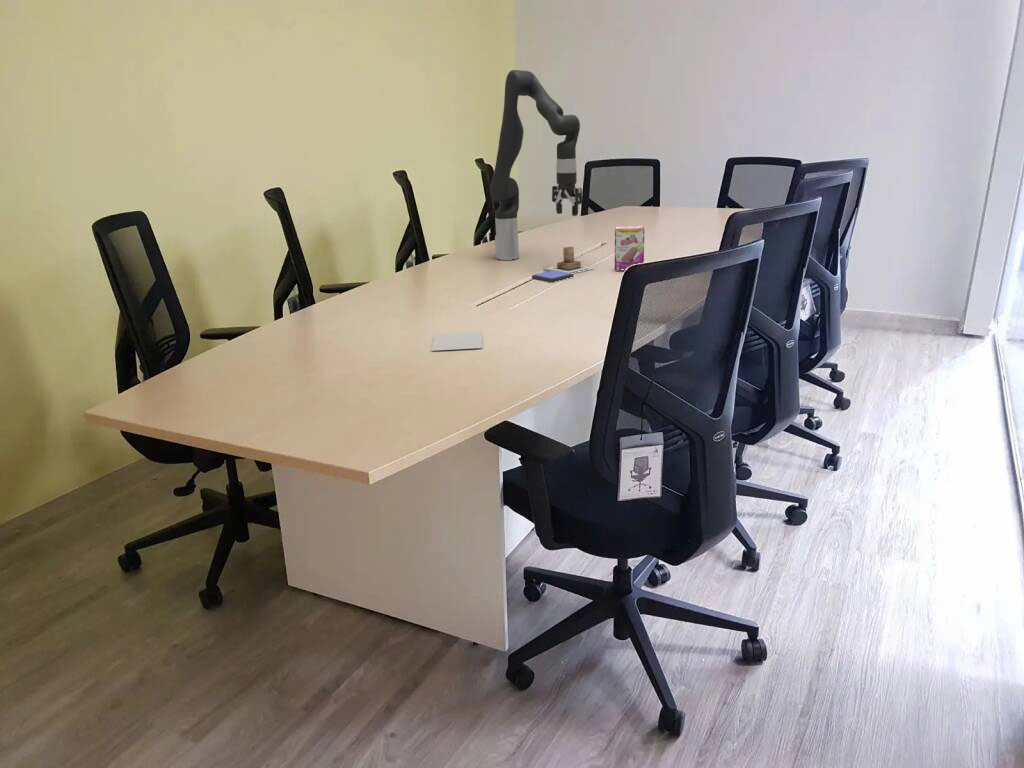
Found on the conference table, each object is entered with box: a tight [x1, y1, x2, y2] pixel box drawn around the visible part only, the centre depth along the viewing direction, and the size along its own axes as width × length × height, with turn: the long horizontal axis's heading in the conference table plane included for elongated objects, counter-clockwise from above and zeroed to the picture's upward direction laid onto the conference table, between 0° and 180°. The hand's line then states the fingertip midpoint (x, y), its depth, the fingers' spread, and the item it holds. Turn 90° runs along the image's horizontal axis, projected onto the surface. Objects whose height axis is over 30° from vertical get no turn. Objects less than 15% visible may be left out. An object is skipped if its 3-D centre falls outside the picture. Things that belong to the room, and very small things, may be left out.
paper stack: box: [431, 331, 483, 352], centre depth 235 cm, size 23×25×1 cm
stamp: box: [556, 246, 582, 271], centre depth 324 cm, size 6×6×8 cm
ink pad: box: [531, 270, 574, 283], centre depth 312 cm, size 11×11×2 cm
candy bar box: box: [614, 225, 645, 272], centre depth 317 cm, size 11×5×16 cm, turn 84°
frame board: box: [542, 264, 591, 273], centre depth 325 cm, size 14×14×1 cm
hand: (567, 214), depth 318 cm, fingers open, 8 cm apart
